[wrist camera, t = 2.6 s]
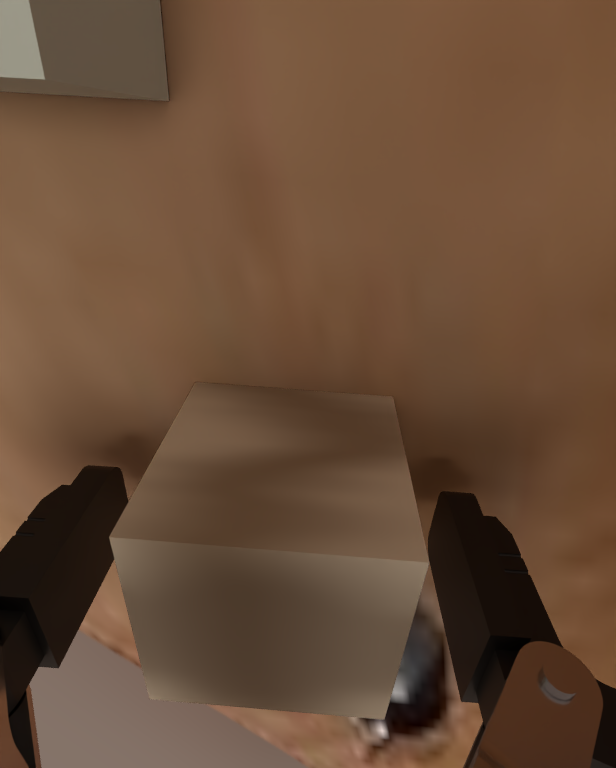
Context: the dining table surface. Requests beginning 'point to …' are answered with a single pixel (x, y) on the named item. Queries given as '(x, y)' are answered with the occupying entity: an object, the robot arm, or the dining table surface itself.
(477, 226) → the dining table surface
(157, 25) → the plate
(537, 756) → the robot arm
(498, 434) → the dining table surface
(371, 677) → the maple cube
